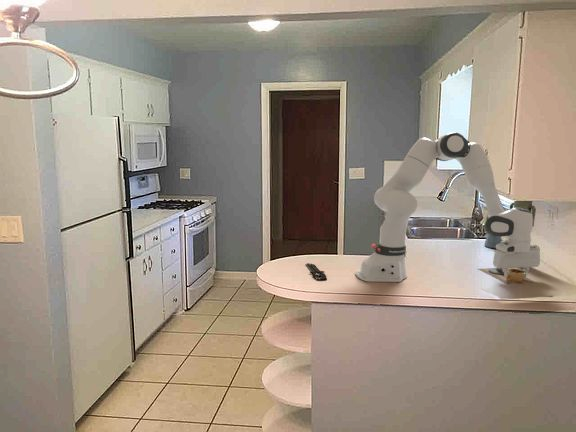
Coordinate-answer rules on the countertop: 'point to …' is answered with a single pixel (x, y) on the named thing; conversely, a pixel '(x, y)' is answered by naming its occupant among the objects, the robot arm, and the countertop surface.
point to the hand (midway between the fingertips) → (515, 277)
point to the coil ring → (516, 275)
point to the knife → (315, 269)
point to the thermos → (525, 205)
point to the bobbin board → (499, 275)
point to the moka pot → (492, 240)
